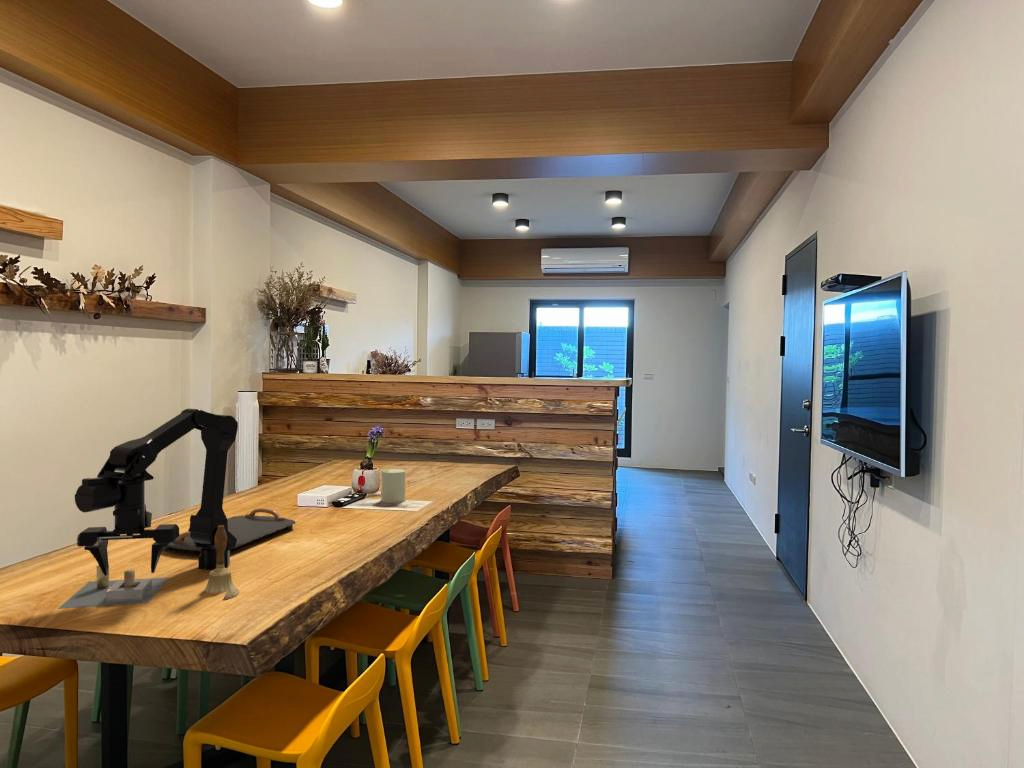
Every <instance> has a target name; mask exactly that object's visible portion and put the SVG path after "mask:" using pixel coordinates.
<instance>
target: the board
mask: <svg viewBox="0 0 1024 768" xmlns="http://www.w3.org/2000/svg"><path fill="white" fill-rule="evenodd" d="M141 579H142V578H135V580H141ZM147 579H152V590H151V591H150V593H149V594H148V595H147V596H146V597H145V598H144V600H143V601H133V602H117V603H106V591H107V590H108V589H109V588H110V587H111V586H112V585H113V584H114V583H115V582H116V581H122V580H123V579H115V580H114V579H113V580H109V588H107V589H101V590H99V589H97V580H96V581H88V582H86V584H85V585H84V586H82V587H81V588H80V589H79V590H77V592H75V593H74V594H73V595H71V596H70V597H69V598H68V599H67V600H66V601H65V602H63V604H61V605H60V606H59V607H58V608H57V610H59V609H74V608H75V609H76V608H91V607H92V608H93V607H108V606H123V605H140V604H149V603H150V601H151V600H152V599H153V598H154V596H156V594H157V593H158V592H159V591H160V589H161V588H162V587H163V586H164V585H165V583H166V582H167V581H168V580H169V577H167V576H166V577H154V578H153V577H152V578H151V577H150V578H147Z"/></svg>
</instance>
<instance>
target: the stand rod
mask: <svg viewBox="0 0 1024 768" xmlns="http://www.w3.org/2000/svg"><path fill="white" fill-rule="evenodd" d="M123 573H124V574H123V577H124V578H123V580H124V588H132V587H135V579H136V571H135V570H134V569H128V570H125V571H123Z"/></svg>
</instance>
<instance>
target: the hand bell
mask: <svg viewBox="0 0 1024 768" xmlns="http://www.w3.org/2000/svg"><path fill="white" fill-rule="evenodd" d="M214 542H215V548H216V551H217V560H216V561H217V562H216V569H214V570H210V572H209V573H208V574H209V575H208V580H207V583H206V586H205V587H204V592H205V593H209V594H220V593H221V594H222V593H225V595H224V597H222V598H223V599H222V601H227V600H230V599H233V598H236V597H237V596H238V595H239V594H240V590H239V589H238V588H237V587H236V586H235V584H234V582H233V580H232V573H231V570H230V569H228V568H225V567H224V551H225V548H226V543H227V535H226V531H225V529H224V525H219V526H218V528H217V531H216V534H215V540H214Z"/></svg>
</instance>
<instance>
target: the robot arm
mask: <svg viewBox="0 0 1024 768" xmlns="http://www.w3.org/2000/svg"><path fill="white" fill-rule="evenodd" d="M194 429H195V430H198V431H200V438H201V441H202V443H203V445H204V447H205V449H206V451H205V461H204V462H205V463H204V473H203V481H202V491H201V501H200V507H199V509H198V511H197V513H196V514H191V515H190V518H189V528H188V530H187V532H190V537H191V539H193V541H194V544H195V547H196V548H202V549H201V551H200V554H199V555H198V557H197V558H198V562H197V563H198V568H197V569H198V570H207V571H212V570H214V569H216V562H217V561H216V560H217V551H216V548H215V542H214V540H215V534H216V531H217V528H218V526H219V525H224V529H225V531H226V535H227V543H226V548H225V551H224V567H225V568H226V569H228V568H229V567H230V566H231V564H230V563H231V558H230V557H231V550H233V549H232V548H234V549H236V548H235V546H236V542H237V539H236V538H235V537H234V536H233V535H232V534H231V533H230V532H229V531H228V520H227V519H228V517H227V515H226V513H225V511H224V509H223V505H224V504H223V503H224V495H225V494H224V493H225V486H226V485H225V484H226V483H225V481H226V474H227V473H226V472H227V463H228V462H227V461H228V453H229V450H230V449H231V447H232V446H233V445H234V442H235V441H236V438H237V434H238V430H239V423H238V421H237V420H236V418H235V417H234V416H232V415H226V414H215V413H211V412H209V411H208V412H207V411H206V410H203V409H200V408H199V409H198V408H185V409H183V410H182V411H181V412H180V413H179V414H177V415H176V416H174V417H172V418H171V419H170V420H168V421H166V422H165V423H163V424H162V425H160V426H158V427H156V428H155V429H154V430H152V431H151V432H149V433H147V434H146V435H145V436H143V437H140V438H136V439H132V440H128V441H125V442H123V443H121V444H118V445H116V446H114V447H113V448H112V449H111V450H110V451H109V456H108V458H107V460H106V461H105V463H104V464H103V466H102V468H101V469H100V471H98V473H97V477H94V478H89V477H87V478H82V479H81V485H79V486H78V488H77V489H76V492H75V494H74V503H75V505H76V507H77V508H78V510H79V511H80V512H82V513H91V512H94V511H99V510H103V509H104V510H105V509H108V508H109V509H110V508H113V507H114V510H113V511H112V516H113V517H114V528H113V530H108V529H107V527H106V526H95V527H91V526H90V527H87V528H85V529H84V530H82V531H81V532H80V533H79V534H77V538H76V546H77V547H83V550H84V551H89V553H90V554H91V555H92V557H93V558H94V559H95V561H96V562H97V564H98V565H99V566H100V568H101V570H102V571H103V573H104V575H105V576H107V575H108V572H109V573H110V563H109V555H108V553H109V552H108V547H109V546H108V545H109V541H115V540H116V541H117V540H137V539H138V540H139V539H143V540H144V539H152V541H154V542H153V543H152V544H151V555H150V556H151V557H150V558H151V559H150V572H151V574H154V573H155V572H156V569H157V566H158V563H159V560H160V557H161V555H162V552H163V550H164V547H165V546H167V545H168V544H169V543H170V542H174V541H175V540H176V539H177V537H178V536H179V535H180V527H179V525H177V524H176V523H171V524H170V523H169V524H168V523H167V524H158V526H156V528H155V529H153V528H152V529H150V528H151V527H152V519H153V518H152V517H153V513H152V512H151V511H147V505H146V504H145V502H146V501H145V494H146V493H145V482H146V481H151V480H154V479H155V477H154V476H153V475H152V474H151V473H149V472H148V471H147V469H148V468H149V467H150V466H151V465H153V463H155V462H156V460H157V457H158V455H159V453H161V452H162V451H163V450H164V449H166V448H167V447H169V446H171V445H172V444H174V443H175V442H176V441H178V440H180V439H181V438H183V437H184V436H186V435H187V434H188V433H190V432H191V431H193V430H194ZM147 528H149V529H147Z"/></svg>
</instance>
